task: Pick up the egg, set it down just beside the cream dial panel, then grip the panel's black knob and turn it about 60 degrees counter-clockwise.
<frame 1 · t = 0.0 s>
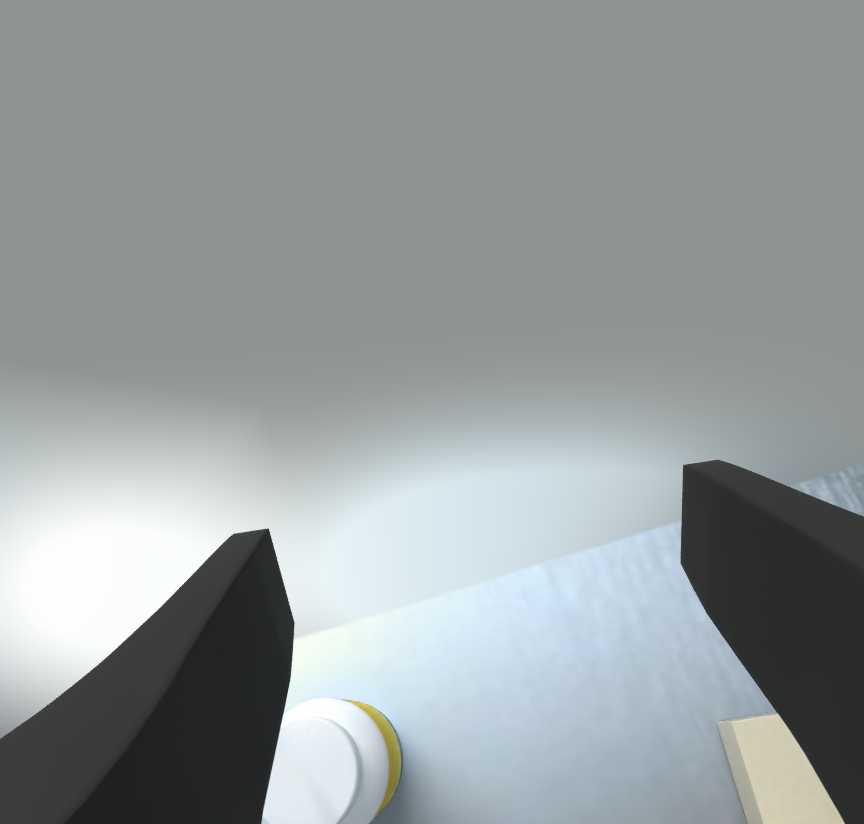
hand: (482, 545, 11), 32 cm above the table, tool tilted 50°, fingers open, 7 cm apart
pill bottle: (350, 761, 38), on the table
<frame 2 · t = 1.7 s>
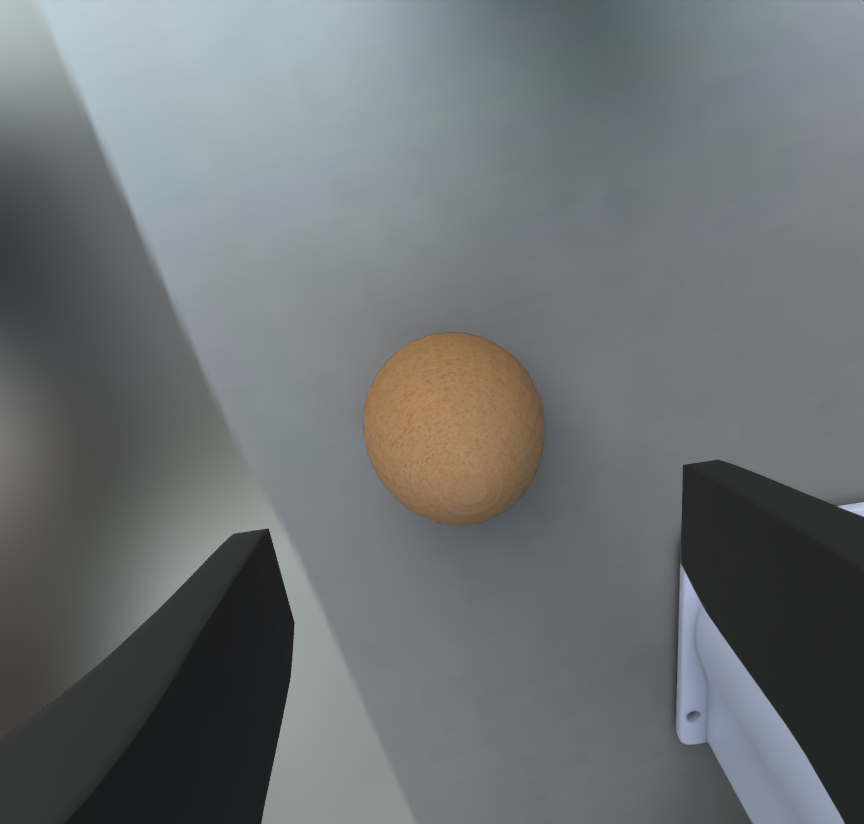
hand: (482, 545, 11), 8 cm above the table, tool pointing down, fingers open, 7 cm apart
egg: (442, 384, 19), on the table
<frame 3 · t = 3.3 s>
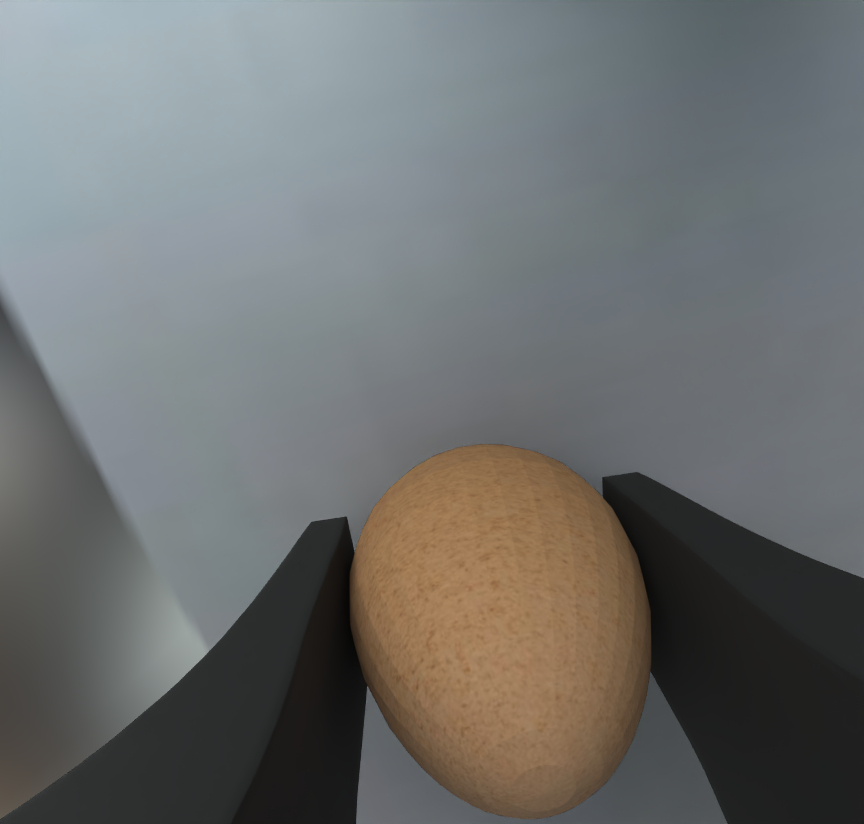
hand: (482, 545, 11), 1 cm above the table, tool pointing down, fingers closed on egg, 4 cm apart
egg: (469, 498, 13), on the table, touching gripper
when the fingers open (1 cm above the table, at t = 8.2 s): egg stays where it is, on the table.
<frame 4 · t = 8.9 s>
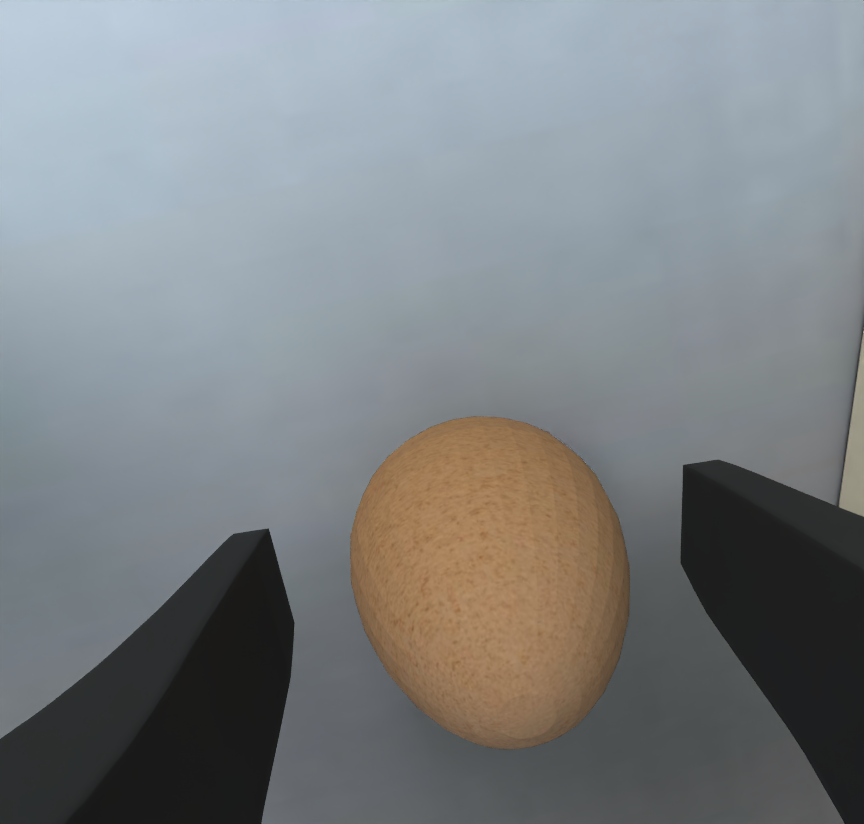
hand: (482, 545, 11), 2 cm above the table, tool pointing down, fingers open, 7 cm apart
egg: (463, 472, 13), on the table
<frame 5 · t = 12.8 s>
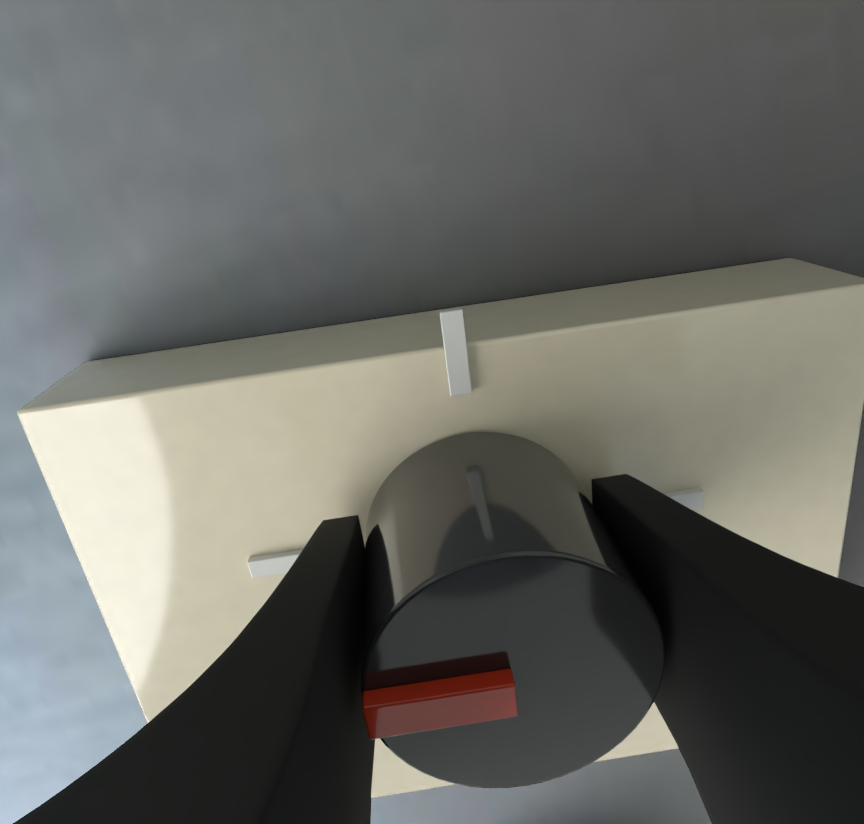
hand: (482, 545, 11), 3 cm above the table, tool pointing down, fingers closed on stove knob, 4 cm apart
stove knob: (495, 601, 10), point 4 cm above the table, hinge at -0.2°, touching gripper
cream dial panel: (468, 524, 14), on the table
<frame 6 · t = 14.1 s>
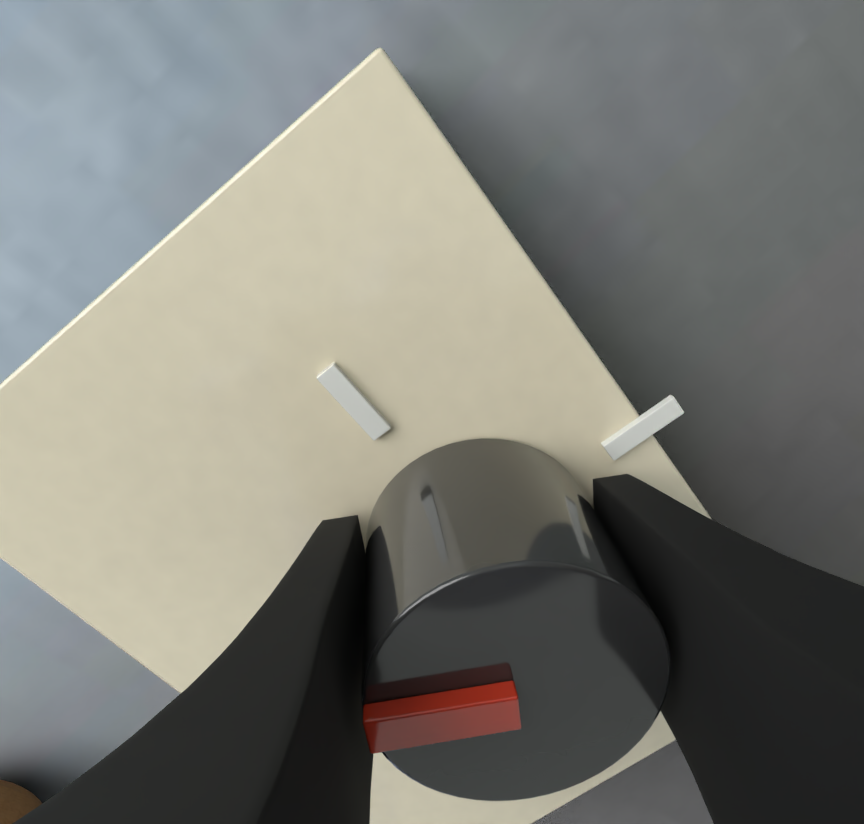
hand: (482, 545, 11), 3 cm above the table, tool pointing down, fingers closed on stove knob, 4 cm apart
egg: (7, 788, 16), on the table
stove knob: (497, 610, 10), point 4 cm above the table, hinge at 60.0°, touching gripper
cream dial panel: (407, 511, 14), on the table
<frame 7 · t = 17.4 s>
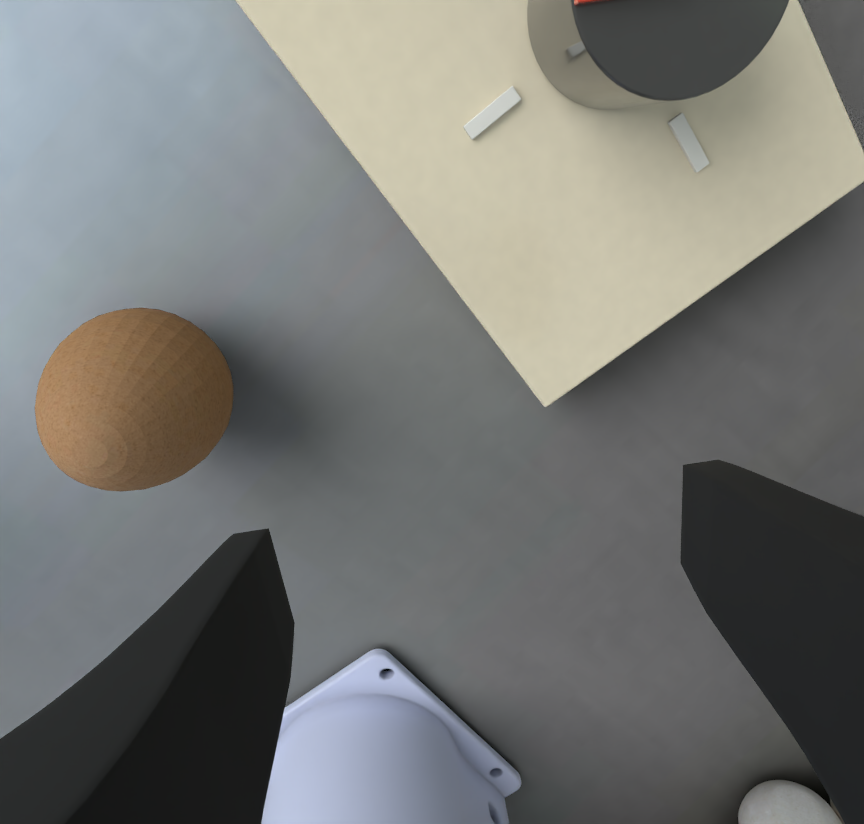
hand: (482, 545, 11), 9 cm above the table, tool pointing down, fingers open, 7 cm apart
egg: (174, 361, 19), on the table
rainbow baby rattle: (801, 814, 30), on the table
cream dial panel: (534, 69, 17), on the table
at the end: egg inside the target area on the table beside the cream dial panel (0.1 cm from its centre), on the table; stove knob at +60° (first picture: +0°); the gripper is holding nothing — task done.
